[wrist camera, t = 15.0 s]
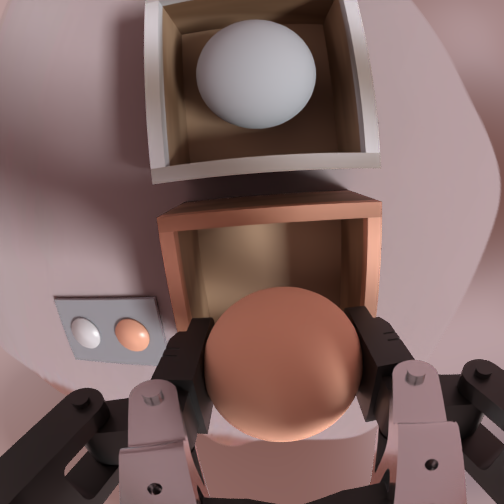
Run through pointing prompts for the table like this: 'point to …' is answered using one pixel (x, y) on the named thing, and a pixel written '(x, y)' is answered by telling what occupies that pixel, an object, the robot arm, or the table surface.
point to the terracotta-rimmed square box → (271, 250)
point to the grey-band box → (268, 139)
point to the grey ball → (256, 74)
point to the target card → (113, 329)
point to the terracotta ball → (282, 364)
